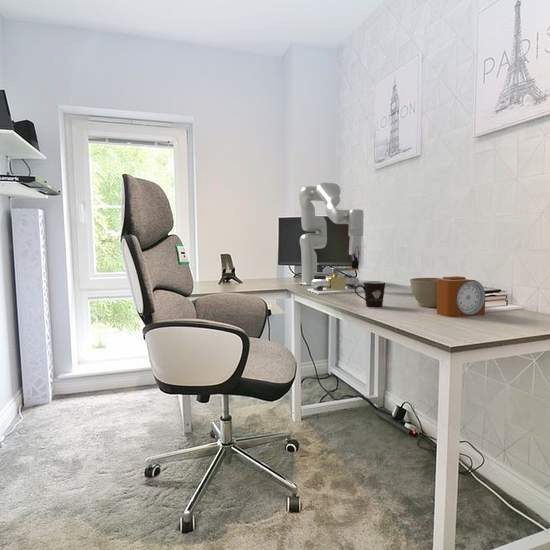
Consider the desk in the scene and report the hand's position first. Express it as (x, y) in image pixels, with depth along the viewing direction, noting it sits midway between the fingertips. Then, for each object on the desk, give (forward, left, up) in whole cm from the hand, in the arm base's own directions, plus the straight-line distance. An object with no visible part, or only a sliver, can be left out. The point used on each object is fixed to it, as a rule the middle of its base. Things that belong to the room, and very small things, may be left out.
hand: (354, 268), depth 199 cm
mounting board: (-5, -8, -12) cm, 16 cm away
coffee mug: (+42, -15, -13) cm, 46 cm away
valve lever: (-6, -3, -2) cm, 7 cm away
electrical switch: (-20, -9, -13) cm, 25 cm away
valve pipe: (-6, -8, -12) cm, 16 cm away
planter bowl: (+50, +8, -13) cm, 52 cm away
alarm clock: (+68, +6, -13) cm, 69 cm away
